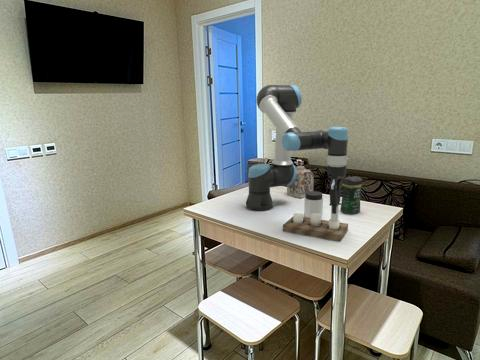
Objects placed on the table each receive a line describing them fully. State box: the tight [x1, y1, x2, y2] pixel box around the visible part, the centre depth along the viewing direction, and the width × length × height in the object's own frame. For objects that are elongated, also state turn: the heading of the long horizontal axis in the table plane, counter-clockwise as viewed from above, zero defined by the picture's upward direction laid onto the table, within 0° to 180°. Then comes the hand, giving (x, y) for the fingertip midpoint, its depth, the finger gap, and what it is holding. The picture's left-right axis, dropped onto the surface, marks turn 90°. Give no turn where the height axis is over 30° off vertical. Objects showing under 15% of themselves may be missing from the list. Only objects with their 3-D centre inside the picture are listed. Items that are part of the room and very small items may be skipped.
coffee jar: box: [340, 175, 363, 215], centre depth 162 cm, size 10×8×19 cm
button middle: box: [310, 213, 322, 227], centre depth 139 cm, size 4×4×5 cm
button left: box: [292, 213, 304, 224], centre depth 144 cm, size 4×4×5 cm
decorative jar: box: [286, 165, 315, 199], centre depth 195 cm, size 12×12×18 cm
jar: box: [303, 190, 324, 218], centre depth 158 cm, size 9×8×12 cm
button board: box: [282, 216, 349, 243], centre depth 140 cm, size 25×14×3 cm, turn 60°
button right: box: [328, 218, 341, 231], centre depth 136 cm, size 4×4×5 cm
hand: (334, 219), depth 135 cm, fingers closed
